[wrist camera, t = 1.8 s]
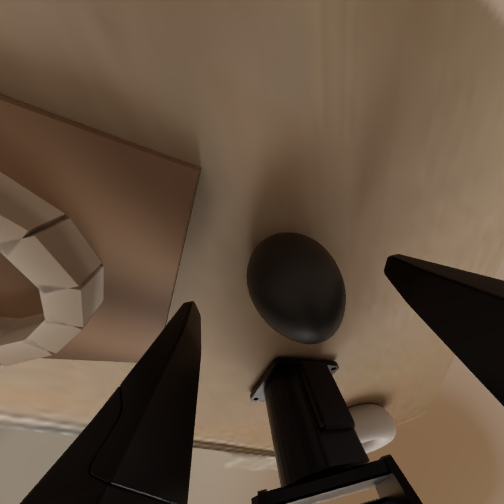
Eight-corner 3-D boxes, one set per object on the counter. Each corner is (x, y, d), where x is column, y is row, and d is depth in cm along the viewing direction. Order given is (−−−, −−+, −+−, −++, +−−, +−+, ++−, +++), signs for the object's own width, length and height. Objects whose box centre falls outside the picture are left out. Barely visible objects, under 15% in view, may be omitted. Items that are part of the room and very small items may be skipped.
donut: (384, 411, 29) (380, 391, 23) (403, 442, 26) (403, 426, 20) (325, 433, 30) (308, 418, 24) (337, 465, 27) (320, 456, 22)
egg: (228, 268, 10) (234, 358, 6) (273, 206, 9) (324, 267, 4) (283, 293, 12) (319, 379, 7) (328, 245, 10) (405, 316, 6)
